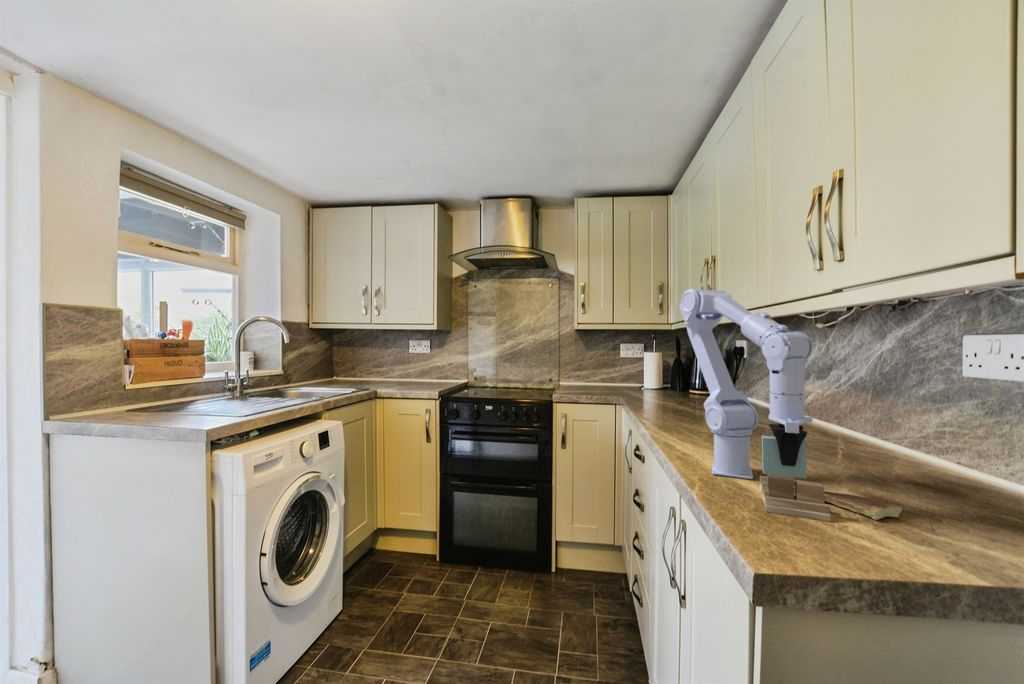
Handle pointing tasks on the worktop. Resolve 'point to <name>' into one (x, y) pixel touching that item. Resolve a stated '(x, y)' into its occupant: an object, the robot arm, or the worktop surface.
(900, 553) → the worktop surface
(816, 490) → the oak offcut
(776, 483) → the walnut offcut
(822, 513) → the birch rack
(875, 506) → the shard
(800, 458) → the teal panel
